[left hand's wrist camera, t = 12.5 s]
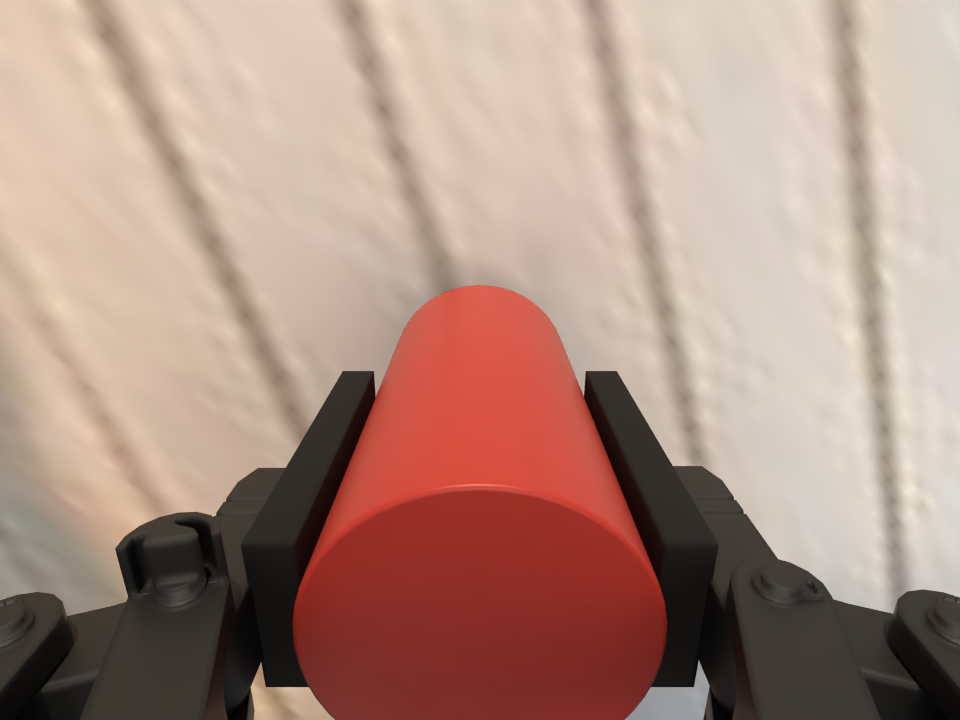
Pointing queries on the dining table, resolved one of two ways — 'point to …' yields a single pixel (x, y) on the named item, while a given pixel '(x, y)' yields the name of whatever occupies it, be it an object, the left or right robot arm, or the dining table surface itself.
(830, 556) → the dining table surface
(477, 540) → the canister
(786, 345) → the dining table surface
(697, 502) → the left robot arm
